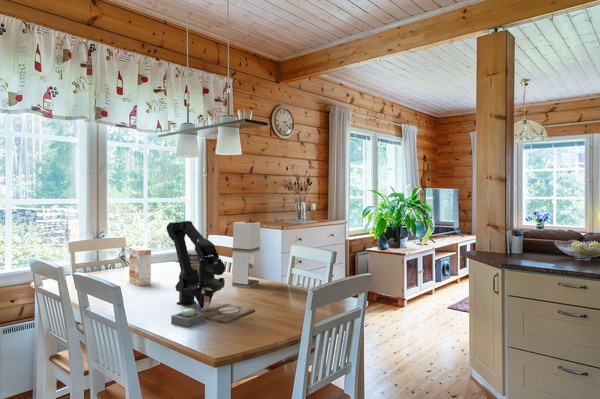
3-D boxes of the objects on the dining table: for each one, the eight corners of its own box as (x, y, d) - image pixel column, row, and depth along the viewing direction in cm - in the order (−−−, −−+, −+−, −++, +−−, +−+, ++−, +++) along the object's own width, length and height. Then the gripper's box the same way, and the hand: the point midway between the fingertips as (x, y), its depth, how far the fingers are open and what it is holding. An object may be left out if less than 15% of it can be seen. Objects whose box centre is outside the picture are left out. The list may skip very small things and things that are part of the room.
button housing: (171, 323, 159) (171, 315, 159) (188, 317, 167) (188, 310, 167) (188, 327, 155) (188, 319, 155) (204, 321, 163) (204, 313, 163)
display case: (249, 288, 219) (250, 223, 219) (232, 286, 223) (233, 222, 223) (258, 284, 230) (260, 222, 229) (242, 282, 234) (243, 221, 233)
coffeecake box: (128, 281, 230) (129, 246, 230) (141, 279, 235) (141, 245, 235) (138, 286, 219) (138, 250, 219) (151, 284, 224) (151, 249, 223)
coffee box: (184, 283, 228) (185, 254, 228) (185, 280, 235) (185, 252, 234) (201, 282, 231) (202, 254, 230) (201, 279, 237) (201, 252, 237)
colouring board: (195, 316, 169) (195, 314, 169) (226, 305, 186) (226, 303, 186) (225, 323, 161) (225, 320, 161) (254, 311, 178) (254, 308, 178)
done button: (178, 315, 160) (178, 310, 160) (188, 312, 164) (188, 307, 164) (188, 317, 158) (188, 312, 158) (197, 314, 162) (197, 309, 162)
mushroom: (198, 309, 177) (198, 297, 177) (204, 307, 180) (204, 295, 180) (205, 311, 175) (205, 298, 175) (211, 309, 179) (211, 296, 178)
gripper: (204, 277, 165) (203, 315, 166) (233, 270, 182) (232, 305, 182) (184, 274, 171) (183, 311, 171) (214, 267, 187) (213, 301, 187)
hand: (204, 307), depth 178 cm, fingers closed on mushroom, 3 cm apart
